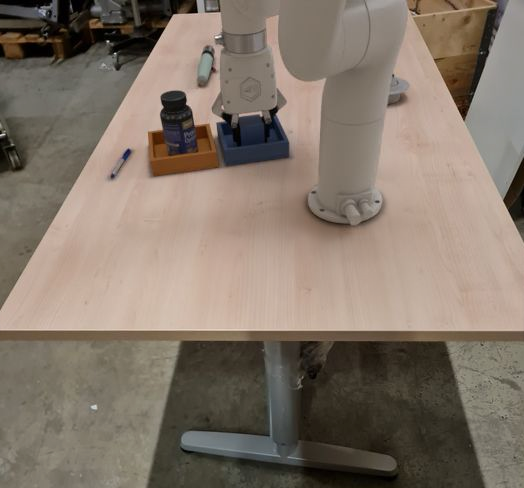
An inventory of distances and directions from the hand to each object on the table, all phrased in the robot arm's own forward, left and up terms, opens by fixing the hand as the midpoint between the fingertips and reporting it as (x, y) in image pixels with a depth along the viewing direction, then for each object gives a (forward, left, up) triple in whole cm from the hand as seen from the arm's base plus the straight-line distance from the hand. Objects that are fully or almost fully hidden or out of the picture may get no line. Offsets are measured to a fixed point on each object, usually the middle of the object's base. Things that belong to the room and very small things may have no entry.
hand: (251, 141), depth 96 cm
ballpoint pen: (0, +26, -1) cm, 26 cm away
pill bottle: (0, +14, -1) cm, 14 cm away
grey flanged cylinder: (+14, -33, -1) cm, 36 cm away
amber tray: (0, +14, -1) cm, 14 cm away
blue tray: (0, 0, -1) cm, 1 cm away
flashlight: (+42, +4, -1) cm, 42 cm away
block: (0, 0, 0) cm, 0 cm away
